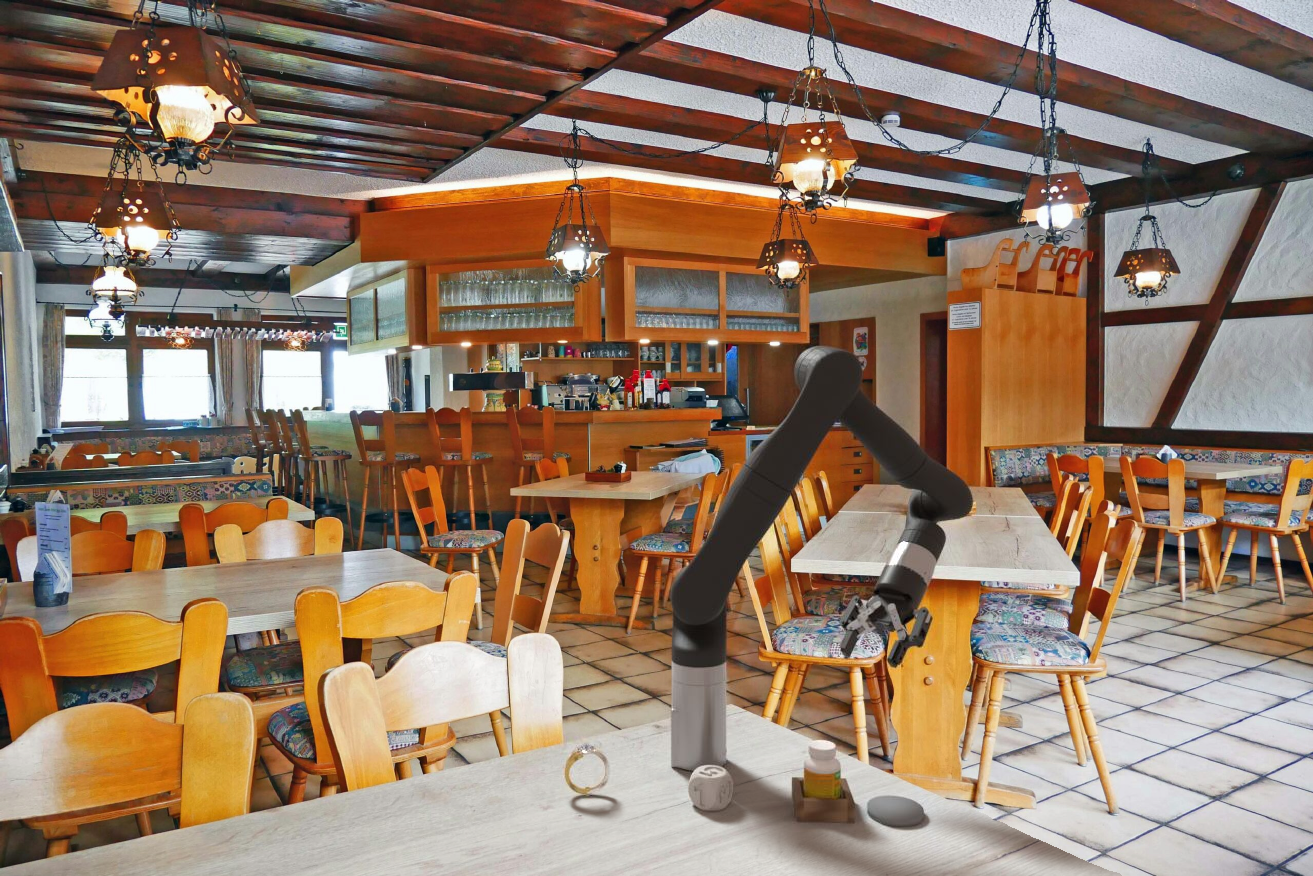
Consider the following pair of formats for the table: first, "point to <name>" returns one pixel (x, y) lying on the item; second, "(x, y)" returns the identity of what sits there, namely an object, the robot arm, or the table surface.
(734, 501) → the robot arm
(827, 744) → the supplement bottle
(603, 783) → the ring
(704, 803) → the die
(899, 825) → the rubber coaster
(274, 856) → the table surface
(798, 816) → the walnut collar
